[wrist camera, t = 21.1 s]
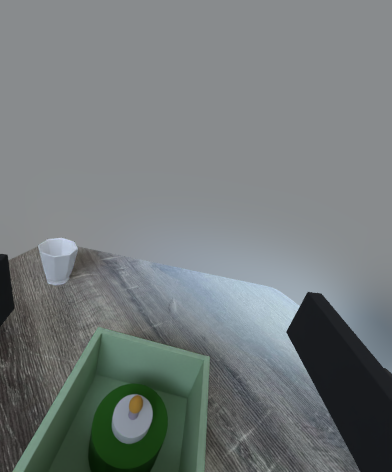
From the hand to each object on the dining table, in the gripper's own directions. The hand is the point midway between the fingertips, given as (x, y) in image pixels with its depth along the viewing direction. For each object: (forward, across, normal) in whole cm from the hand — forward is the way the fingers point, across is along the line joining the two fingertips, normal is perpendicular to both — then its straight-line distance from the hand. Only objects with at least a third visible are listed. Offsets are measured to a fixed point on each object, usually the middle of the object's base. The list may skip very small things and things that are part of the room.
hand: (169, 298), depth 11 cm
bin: (+7, 0, -30) cm, 31 cm away
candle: (+7, 0, -30) cm, 30 cm away
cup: (+37, -19, -29) cm, 51 cm away
